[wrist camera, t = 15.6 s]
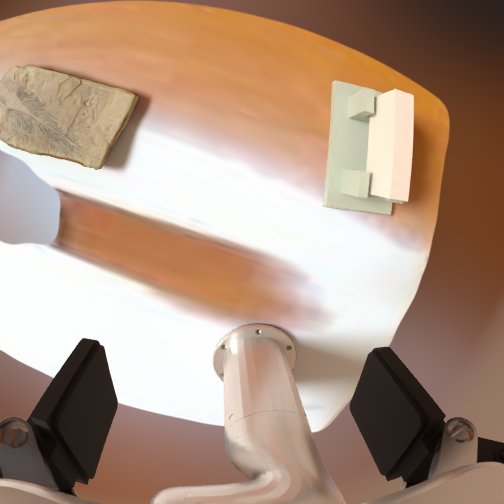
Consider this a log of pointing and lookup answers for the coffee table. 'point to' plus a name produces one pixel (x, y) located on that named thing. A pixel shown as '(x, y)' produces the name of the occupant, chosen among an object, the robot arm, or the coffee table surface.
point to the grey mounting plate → (351, 151)
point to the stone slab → (62, 115)
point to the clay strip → (391, 145)
